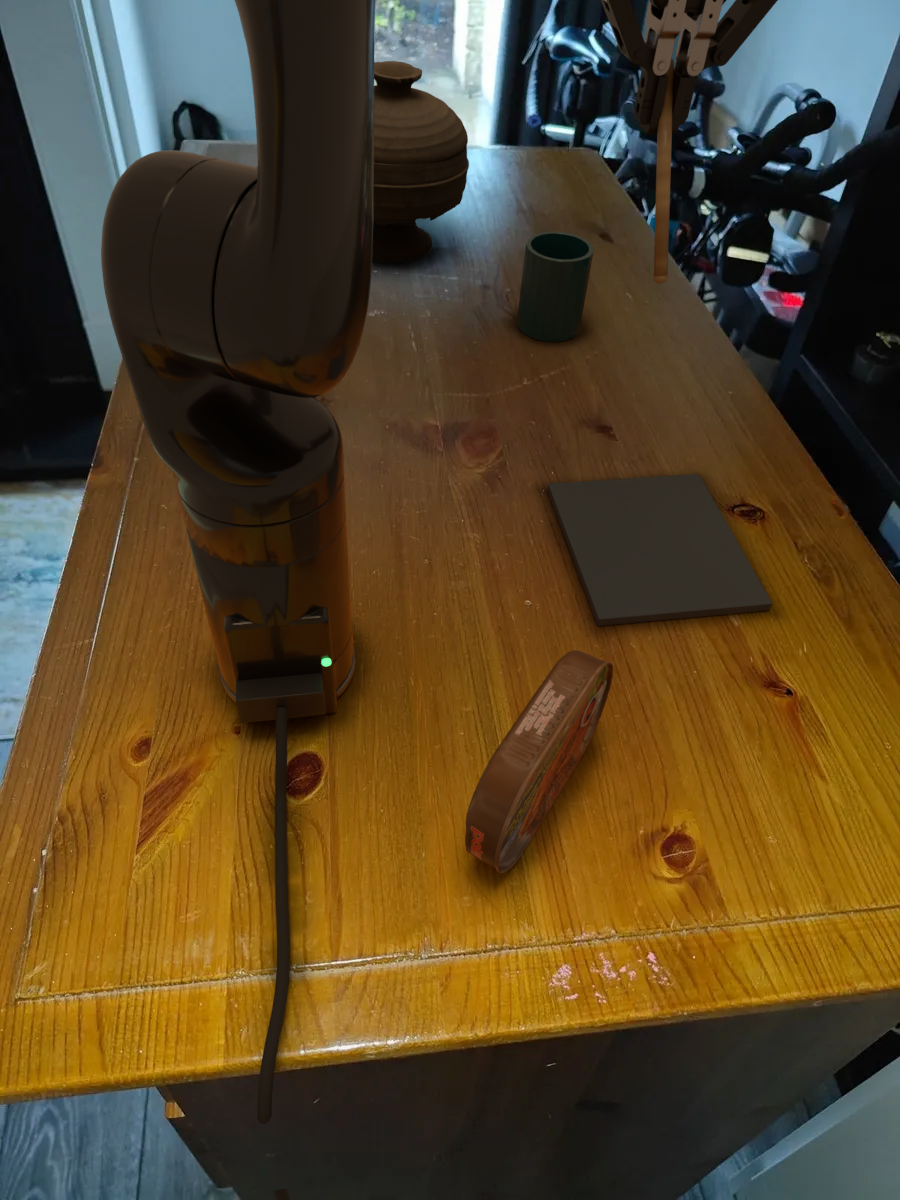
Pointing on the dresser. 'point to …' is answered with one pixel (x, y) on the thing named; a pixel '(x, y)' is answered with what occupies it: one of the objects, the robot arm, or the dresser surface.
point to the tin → (536, 759)
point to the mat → (654, 550)
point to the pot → (412, 162)
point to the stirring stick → (663, 183)
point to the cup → (554, 285)
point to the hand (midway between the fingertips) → (657, 129)
